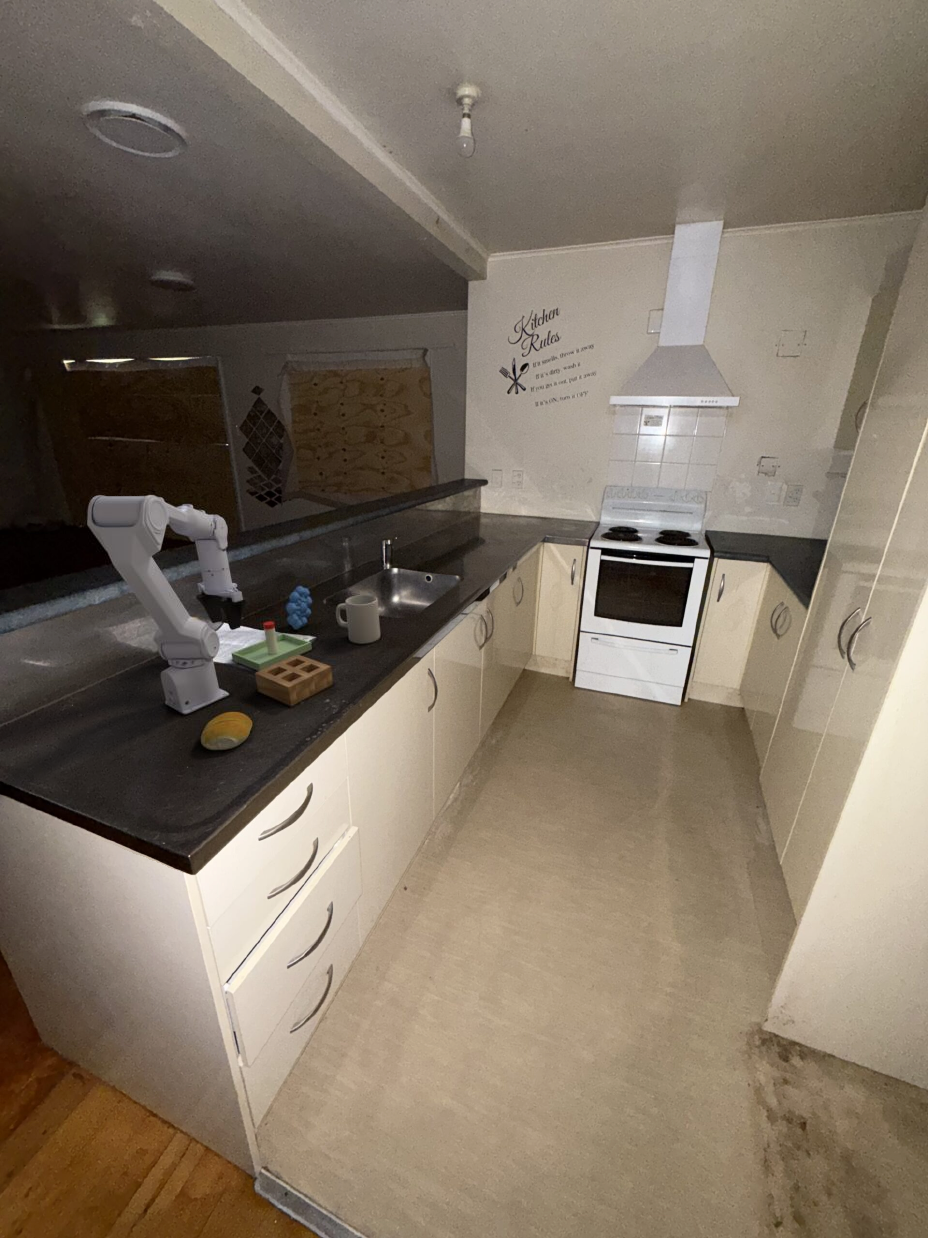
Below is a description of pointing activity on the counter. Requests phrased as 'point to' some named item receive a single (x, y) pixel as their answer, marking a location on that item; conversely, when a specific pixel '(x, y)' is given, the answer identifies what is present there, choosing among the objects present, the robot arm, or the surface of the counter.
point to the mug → (361, 618)
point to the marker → (270, 637)
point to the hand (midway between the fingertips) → (226, 625)
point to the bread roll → (226, 731)
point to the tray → (260, 658)
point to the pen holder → (294, 679)
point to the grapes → (299, 607)
